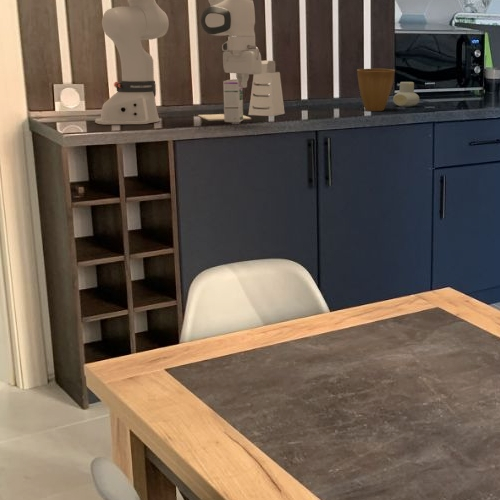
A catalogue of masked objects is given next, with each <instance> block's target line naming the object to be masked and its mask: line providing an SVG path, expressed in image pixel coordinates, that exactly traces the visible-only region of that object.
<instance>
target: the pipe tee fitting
mask: <svg viewBox="0 0 500 500" xmlns="http://www.w3.org/2000/svg"><path fill="white" fill-rule="evenodd" d="M414 89H415V82H413V81H400V83H399V92H397V93H396V94H394V96H393V98H392V101H393V103H394V104H395V105H397V106H398V107H399V108H408V107H409V108H411V107H414V106H417V105H418V104H419V103H420V96H419V95H418V94H417V93H416V92H415V90H414Z"/></svg>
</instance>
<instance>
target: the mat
mask: <svg viewBox="0 0 500 500" xmlns="http://www.w3.org/2000/svg"><path fill="white" fill-rule="evenodd" d="M197 117H198V118H201V119H203V120H206V121H209V122H210V121H224V113H219V114H218V113H217V114H216V113H215V114H213V113H212V114H198V115H197ZM245 120H252V117H250V116H246V115H244V114H243V121H245Z"/></svg>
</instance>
